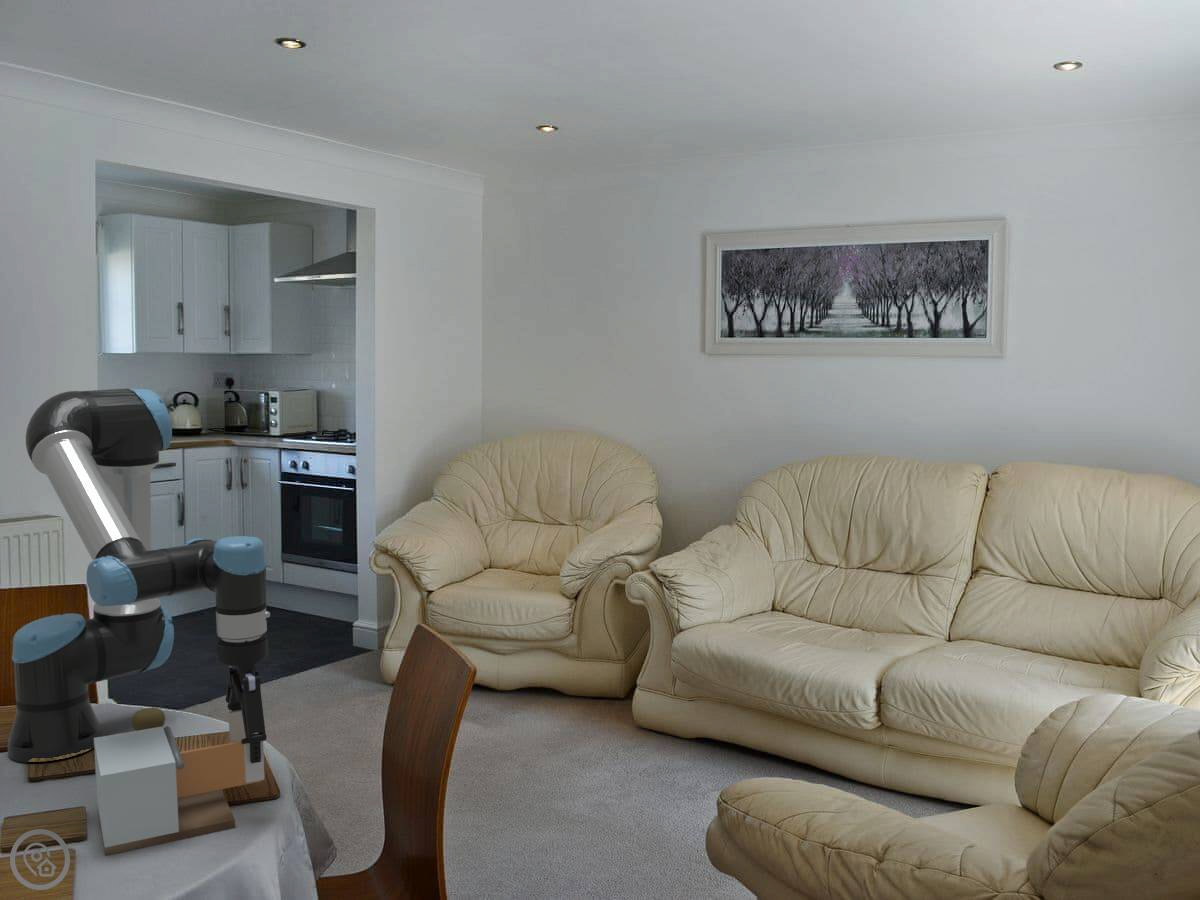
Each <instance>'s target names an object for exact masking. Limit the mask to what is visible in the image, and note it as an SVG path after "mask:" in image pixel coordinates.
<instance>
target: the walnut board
mask: <svg viewBox="0 0 1200 900" xmlns="http://www.w3.org/2000/svg"><path fill="white" fill-rule="evenodd" d="M96 804H97V803H96ZM177 804H178V825H179V832H176V833H171V834H166V835H162V836H157V837H152V838H148V839H143V840H138V841H134V842H129V843H124V844H120V845H115V846H110V847H105V846H104V840H103V834H102V828H101V822H100V816H99V810H98V809H97V813H98V820H99V826H100V832H101V839H102V844H103V845H102V846H103V851H104V856H109V855H113V854H119V853H123V852H128V851H133V850H138V849H142V848H147V847H151V846H155V845H160V844H165V843H170V842H174V841H178V840H183V839H187V838H189V839H190V838H191V837H192V838H193V837H196V836H201V835H207V834H212V833H215V832H219V831H224V830H230V829H233V828H236V819H235V817H234V815H233V813H232V811H231V808H230V806H229V803H228V801H227V799H226V797H225V794H224V792H223V789H220V790H215V791H210V792H205V793H200V794H195V795H190V796H185V797H180V798H177ZM97 806H98V804H97Z"/></svg>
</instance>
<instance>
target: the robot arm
mask: <svg viewBox="0 0 1200 900" xmlns="http://www.w3.org/2000/svg"><path fill="white" fill-rule="evenodd" d="M30 417H31V418H30V419H29V422H28V424H27V428H26V432H25V446H26V447H25V448H26V452H27V455H28V457H29V460H30V461H31V464H33V466H34V468H35V470H36V471H38V472H39V473H41V474H43V475H46V476H47V479H48V480H49V481H50V482H49V483H50V484H51V486H52V488H53V490H54V491H55V493H56V495H57V497H58V500H60V502H61V504H62V507H63V508H64V509H65V512H66V514H67V515H68V517H69V519H70V521H71V522H72V524H73V527H74V528H75V530H76V532H77V535H79V537H80V539H81V541H82V543H83V545H84V547H85V549H86V551H87V552H88V554H89V556H90V557H91V560H92V561H90V562H89V563H88V566H87V569H86V585H87V588H88V593H89V596H90V598H91V599H92V601H93V602H94V604H93V607H92V608H93V618H88V619H85V617H84V616H83V615H82V614H79V613H71V612H69V613H64V614H54V615H49V616H45V617H42V618H39V619H36V620H33V621H31V622H29V623H26V624H25V625H23V626H22V627H21V628H19V629H18V630H17V631H16V632H15V634H14V635H13V639H12V653H11V654H12V655H11V660H12V664H13V675H14V676H13V677H14V688H15V689H14V692H15V693H14V694H15V703H16V704H15V705H16V708H15V709H16V712H15V715H14V719H13V723H12V725H11V729H10V732H9V736H8V740H7V756H8V758H10V759H11V760H12V761H15V762H19V763H26V764H28V763H27V762H28V761H29V760H30V759H32V758H53V757H59V756H62V755H67V754H71V753H77V752H80V751H81V750H86V749H90V748H94V738H97V737H103V736H102V728H101V725H100V722H99V721H98V718H97V716H96V713H95V711H94V708H93V707H92V704H91V702H90V698H89V685H90V684H93V683H98V682H102V681H106V680H111V679H116V678H121V677H124V676H129V675H134V674H143V673H144V672H146V671H149V670H152V669H156V668H159V667H161V666H162V665H164V664H165V662H166V661H167V660H168V658H170V655H171V652H172V650H173V646H174V640H175V638H174V637H175V631H174V624H173V623H172V622H173V618H172V616H171V613H170V611H169V610H168V609H167V608H165V607H164V606H162V603H161V602H162V601H161V600H160V599H159V598H163V597H169V596H170V597H171V596H174V595H175V596H176V595H180V594H181V595H182V594H187V593H191V592H197V591H203V590H209V591H211V592H213V593H215V623H216V636H218V637H219V638H218V639H217V641H216V642H217V643H216V644H217V660H218V662H219V663H221V664H222V665H224V666H227V680H226V693H225V694H226V695H225V702H226V704H227V708H228V728H229V730H228V731H229V743H232V742H238V741H241V744H244V753H245V781H246V783H249V782H255V781H260V780H261V781H265V756H264V755H265V753H264V749H265V748H264V742H265V741H267V738H268V737H267V734H266V726H265V715H264V708H263V701H262V691H261V689H262V688H261V677H260V674H259V671H256V667H255V665H256V664H258V663H261V662H263V661H264V660H266V659H267V658H268V655H269V647H268V646H269V643H268V642H269V641H268V635H267V634H266V632H267V631H268V627H267V625H268V623H267V618H270V617H271V612H270V611H267V575H266V574H267V567H266V566H267V559H266V555H265V544H264V542H263V540H262V539H260V538H258V537H256V536H247V535H235V536H228V537H227V536H226V537H222V538H220V539H218V540H217V541H216V540H212V539H210V538H199V537H198V538H192V539H190V540H187V541H186V542H185V543H184V544H182V545H179V546H178V545H177V546H173V547H166V548H158V549H152V507H151V506H152V498H151V497H152V495H151V493H152V492H151V489H152V487H151V486H152V485H151V482H152V481H151V471H152V470H153V469H154V468H155V467H156V466H157V465H158V464H159V463H160V452H163V451H165V450H167V449H168V448H169V447H170V445H171V441H172V439H173V428H172V422H171V417H170V414H169V411H168V408H167V406H166V405H165V403H164V401H163V399H162V398H161V397H160V396H159V395H158V393H156V392H154V391H153V390H151V389H146V388H132V387H131V388H113V389H112V388H111V389H97V390H96V389H95V390H68V391H65V392H60V393H58V394H56V395H54V396H53V395H52V396H51V397H50V398H47V400H45V401H44V402H43V403H41V404H40V405H39V407H37V408H36V410H35V411H34V413H33V414H32V416H30ZM261 781H260V782H261ZM255 783H256V782H255Z"/></svg>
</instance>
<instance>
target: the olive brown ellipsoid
mask: <svg viewBox="0 0 1200 900" xmlns="http://www.w3.org/2000/svg"><path fill="white" fill-rule="evenodd" d="M165 721H166V715H165V712H164V711H163V710H162V709H161V708H157V707H147V708H142V709H139V710H137V711H136V712H135V713H134V714H133V716H132V718H131V725H132V728H133V729H134V731H138V730H144V729H150V728H156V727H162V726H163V727H164V725H165Z"/></svg>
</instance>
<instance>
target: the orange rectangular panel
mask: <svg viewBox="0 0 1200 900" xmlns="http://www.w3.org/2000/svg"><path fill="white" fill-rule="evenodd" d="M179 752H180V754H181V757H182V760H183V762H184V768H183V769H181V770H178V769H176V782H177V798H180V797H185V796H190V795H195V794H200V793H205V792H210V791H215V790H220V789H221V790H224V789H229V788H230V789H231V788H234V787H238V786H239V787H240V786H244V785H245V786H246V785H248V784H254V783H258V782H259V783H260V782H262V780H260V781H255V782H249V783H246V781H245V753H244V744H241V741H238V742H232V743H230V742H227V743H222V744H216V745H211V746H206V747H205V746H204V747H200V748H193V749H188V750H183V751H179Z"/></svg>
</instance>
